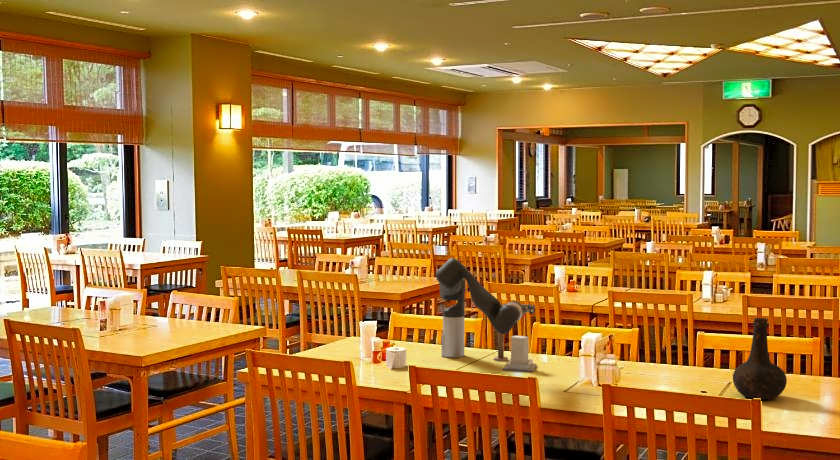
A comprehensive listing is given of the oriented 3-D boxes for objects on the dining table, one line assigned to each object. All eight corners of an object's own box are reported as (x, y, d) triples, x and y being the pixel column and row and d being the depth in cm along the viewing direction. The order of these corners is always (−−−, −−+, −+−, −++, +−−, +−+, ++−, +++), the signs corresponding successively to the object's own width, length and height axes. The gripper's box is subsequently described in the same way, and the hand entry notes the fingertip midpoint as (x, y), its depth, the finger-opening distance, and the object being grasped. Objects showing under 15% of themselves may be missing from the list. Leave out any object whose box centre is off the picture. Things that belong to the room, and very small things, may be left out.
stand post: (492, 360, 378) (492, 325, 377) (494, 357, 383) (495, 323, 383) (506, 361, 376) (507, 326, 375) (508, 358, 382) (509, 324, 381)
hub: (502, 370, 360) (502, 363, 359) (507, 364, 371) (507, 357, 371) (532, 372, 357) (532, 365, 356) (536, 365, 368) (536, 359, 368)
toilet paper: (391, 370, 360) (390, 352, 360) (383, 364, 371) (383, 347, 370) (410, 368, 363) (410, 351, 362) (403, 363, 373) (403, 346, 373)
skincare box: (528, 366, 364) (528, 336, 363) (524, 368, 360) (524, 338, 359) (515, 364, 367) (515, 335, 366) (510, 366, 363) (510, 336, 363)
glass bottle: (758, 406, 305) (760, 324, 304) (721, 394, 322) (722, 316, 320) (797, 400, 313) (800, 320, 311) (759, 389, 329) (761, 313, 327)
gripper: (531, 303, 339) (536, 297, 355) (493, 301, 343) (500, 296, 358) (531, 322, 340) (536, 316, 355) (493, 321, 343) (500, 314, 359)
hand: (518, 306), depth 357 cm, fingers open, 8 cm apart
